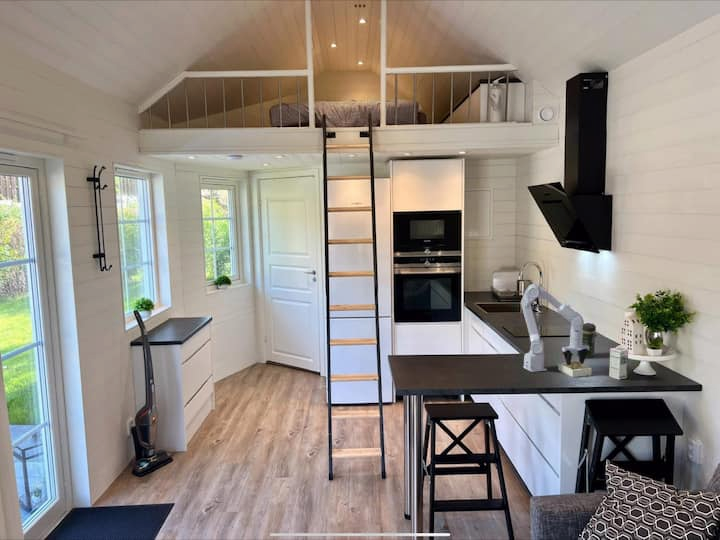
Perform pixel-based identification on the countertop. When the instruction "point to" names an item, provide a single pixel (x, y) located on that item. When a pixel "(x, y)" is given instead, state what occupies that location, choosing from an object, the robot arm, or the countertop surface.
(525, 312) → the robot arm
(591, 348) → the coffee jar
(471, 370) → the countertop surface
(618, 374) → the syrup box
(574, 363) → the beech block
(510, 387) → the countertop surface
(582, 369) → the white tub
